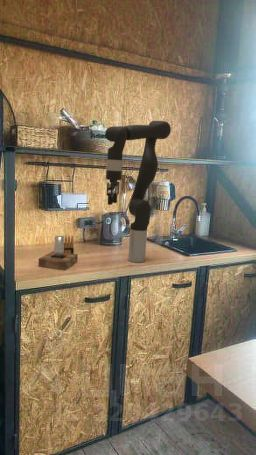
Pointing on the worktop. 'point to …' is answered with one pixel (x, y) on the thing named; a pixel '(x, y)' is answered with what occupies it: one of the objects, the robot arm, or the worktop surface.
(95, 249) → the worktop surface
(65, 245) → the ammunition clip
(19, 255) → the worktop surface
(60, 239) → the steel pin
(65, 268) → the walnut socket block
